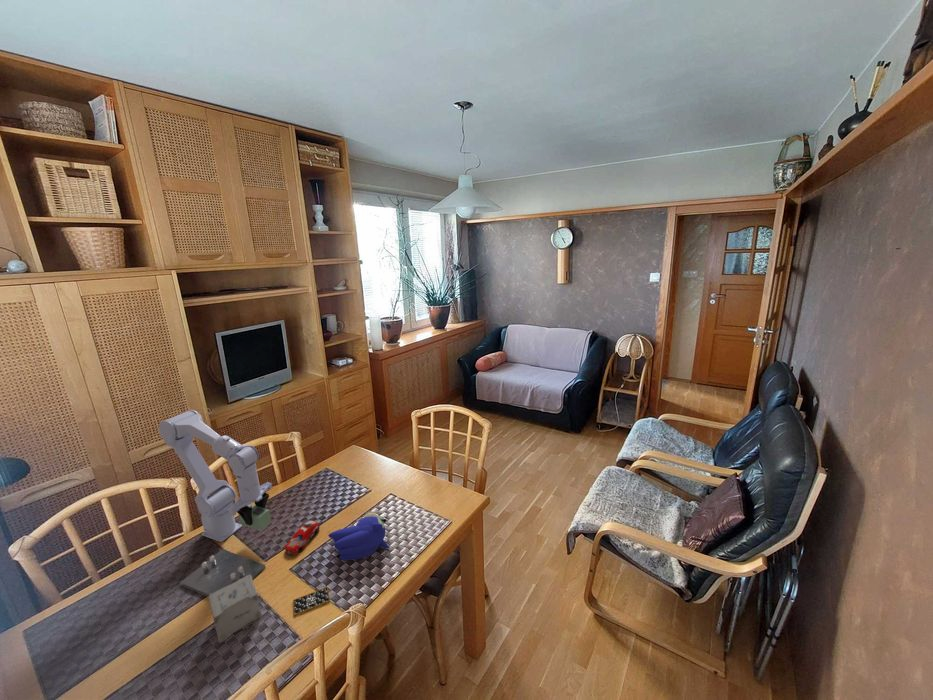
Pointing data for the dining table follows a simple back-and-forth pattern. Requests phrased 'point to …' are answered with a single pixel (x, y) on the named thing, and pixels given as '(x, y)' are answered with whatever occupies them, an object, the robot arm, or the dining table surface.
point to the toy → (360, 538)
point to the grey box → (234, 607)
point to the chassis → (221, 572)
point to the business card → (311, 601)
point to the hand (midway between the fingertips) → (255, 519)
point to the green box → (258, 518)
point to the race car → (302, 537)
